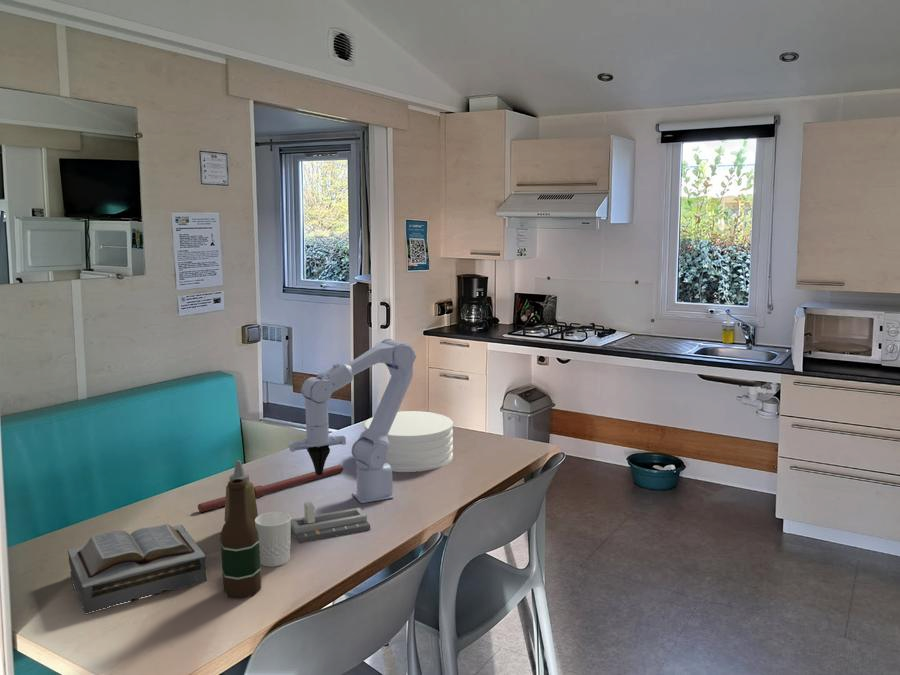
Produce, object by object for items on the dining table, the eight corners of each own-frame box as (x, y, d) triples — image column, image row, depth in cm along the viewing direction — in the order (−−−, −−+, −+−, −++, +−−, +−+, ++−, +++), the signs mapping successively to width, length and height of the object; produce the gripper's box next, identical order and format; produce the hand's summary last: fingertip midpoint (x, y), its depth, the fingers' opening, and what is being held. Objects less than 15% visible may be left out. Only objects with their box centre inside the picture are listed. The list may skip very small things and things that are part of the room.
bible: (71, 568, 167) (67, 526, 166) (198, 547, 178) (196, 507, 176) (65, 620, 146) (60, 573, 145) (210, 592, 157) (207, 548, 155)
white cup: (283, 569, 166) (282, 527, 164) (250, 566, 167) (248, 524, 166) (297, 554, 173) (296, 513, 172) (266, 551, 175) (264, 510, 173)
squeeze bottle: (265, 526, 188) (262, 457, 185) (246, 540, 181) (243, 468, 178) (237, 522, 191) (234, 454, 188) (218, 535, 183) (214, 464, 180)
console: (356, 513, 196) (356, 503, 196) (370, 529, 187) (370, 519, 186) (287, 525, 189) (287, 515, 189) (298, 542, 179) (298, 532, 179)
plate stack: (402, 438, 260) (402, 406, 259) (469, 454, 244) (470, 419, 242) (346, 460, 238) (346, 425, 236) (416, 478, 222) (416, 441, 220)
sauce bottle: (227, 582, 160) (221, 474, 156) (264, 580, 161) (259, 473, 157) (219, 600, 153) (212, 488, 149) (258, 599, 153) (252, 487, 149)
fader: (314, 522, 188) (313, 501, 187) (317, 527, 185) (317, 506, 184) (302, 524, 187) (301, 503, 186) (305, 529, 183) (304, 508, 182)
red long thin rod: (202, 515, 196) (201, 504, 195) (196, 512, 198) (196, 500, 198) (344, 474, 226) (344, 464, 226) (338, 471, 229) (338, 461, 228)
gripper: (339, 416, 202) (341, 465, 204) (285, 423, 195) (287, 473, 198) (347, 423, 195) (349, 473, 197) (292, 430, 189) (294, 481, 191)
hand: (318, 473), depth 197 cm, fingers closed
